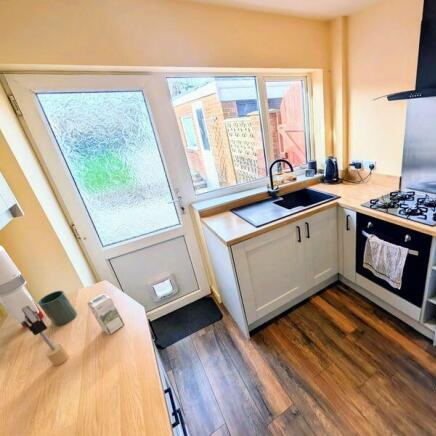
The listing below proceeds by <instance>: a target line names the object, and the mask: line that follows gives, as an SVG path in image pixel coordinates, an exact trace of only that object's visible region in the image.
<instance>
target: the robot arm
mask: <svg viewBox="0 0 436 436" xmlns="http://www.w3.org/2000/svg"><path fill="white" fill-rule="evenodd" d="M26 284H27V280H26V278H25V277H24V275H23V274H22V273H21V271H20V270H19V268H18V267H17V265H16V263H14V261H13V260H12V258H11V257H10V256H9V254H8V252H7V251H6V249H5V248H4V247H3V246H2V245H0V303H1V304H2V306H3V307H4V309H5V310H6V311H7V312H8V314H9V316H11V318H13V320H14V321H15V322H16V323H18V324H21V323H22V322H23V321H26V322H24V323H25V325H26V326H27V327H26V328H27V329H28V330H29V331H30V332H31V333H32V334H33V336H38V335H40V333H41V332H42V331H43V332H44V331H45V330H47V329H48V326H47V325H46V323H45V322H44V321H43V318H42V319H40V318H39V317H38V315H37V314H38V313H39V310H38V308H39V307H38V308H37V307H36V305H37V304H36V302H35V301H34V299H33V298H32V297H31V295H30V294H29V292H28V291H27V290H26V289H25V287H24V286H25V285H26ZM31 298H32V299H31ZM33 301H34V302H35V303H34V302H33ZM35 304H36V305H35ZM28 319H30V320H29V321H28Z"/></svg>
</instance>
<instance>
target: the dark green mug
mask: <svg viewBox="0 0 436 436" xmlns="http://www.w3.org/2000/svg"><path fill="white" fill-rule="evenodd" d="M37 304H38V305H39V308H41V309H42V311H43V312H44V314H45V315H46V316H47V318H48V319H49V321H50V322H51V324H52V325H53V326H54V327H62V326H64V325H65V326H66V325H67V324H69V323H70V322H72V321H74V319H75V318H76V317H77V316H78V312H77V310H76V309H75V307H74V305H73V304H72V302H71V301H70V299H69V298H68V296H67V295H66V293H65V291H63V290H56V291H52V292H50V293H48V294H46V295H44V296H43V297H41V299H40V300H39V301H38V303H37Z"/></svg>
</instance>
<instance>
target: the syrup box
mask: <svg viewBox="0 0 436 436" xmlns="http://www.w3.org/2000/svg"><path fill="white" fill-rule="evenodd" d="M87 306H88V307H89V309H90V311H91V313H92V314H93V316H94V317H95V319H96V321H97V323H98V325H99V326H100V328H101V330H102V331H103V332H105V333H106V334H108V336H111V335H113V334H114V333H115V332H117V331H118V330H120V329H121V328H122V327H123V326H125V322H124V320H123V319H122V316H121V314H120V312H119V311H118V309H117V307H116V305H115V303H114V301H113V299H112V297H110V296H108V295H107V294H105V293H102V294H100V295H98V296H96V297H94V298H93V299H91V300H90V301H88V302H87Z"/></svg>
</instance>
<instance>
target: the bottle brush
mask: <svg viewBox="0 0 436 436" xmlns="http://www.w3.org/2000/svg"><path fill="white" fill-rule="evenodd" d="M29 320H30V319H28V321H29ZM39 335H40V336H41V337H42V338H43V340H44V341H45V342H46V344H47V345H48V347H49V348H48V349H47V350H46V351H45V356H46V358H47V359H48V360H49V362H50V363H51V364H52V366H59V365H61V364H63V363H65V362H66V361H67V360H68V359H69V356H70V354H69V352H68V351H67V350H66V348H65V347H64V345H63V344H62V343H57V344H55V345H53V343H52V342H51V341H50V339H49V338H48V336H47V335H46V333H45V332H44V331H42V332H41V333H39Z"/></svg>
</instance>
